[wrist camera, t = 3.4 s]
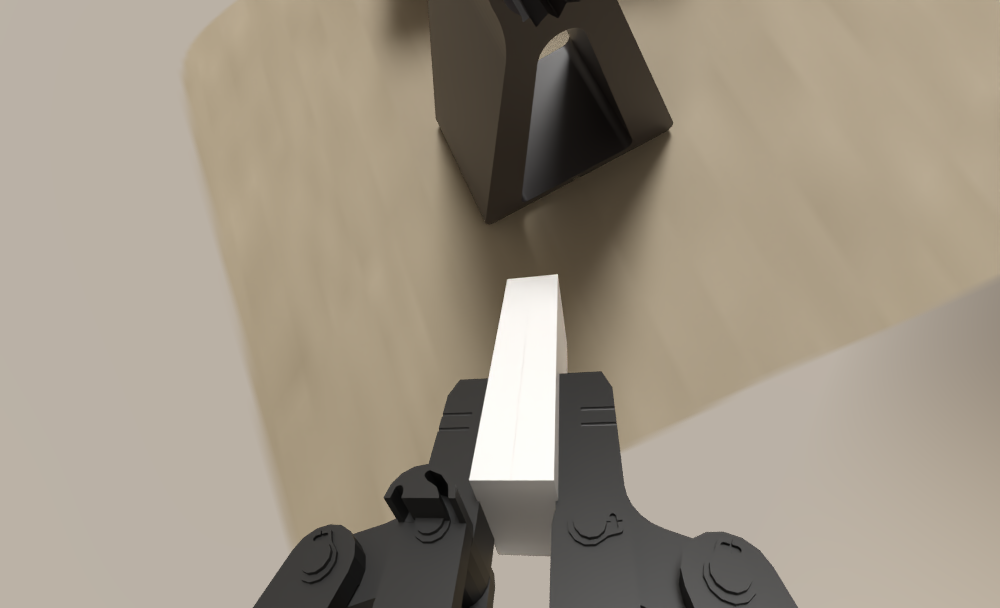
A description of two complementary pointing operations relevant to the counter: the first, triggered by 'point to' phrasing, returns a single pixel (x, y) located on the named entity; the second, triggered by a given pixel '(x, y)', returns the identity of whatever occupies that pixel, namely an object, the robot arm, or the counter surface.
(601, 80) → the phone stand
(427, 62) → the counter surface
